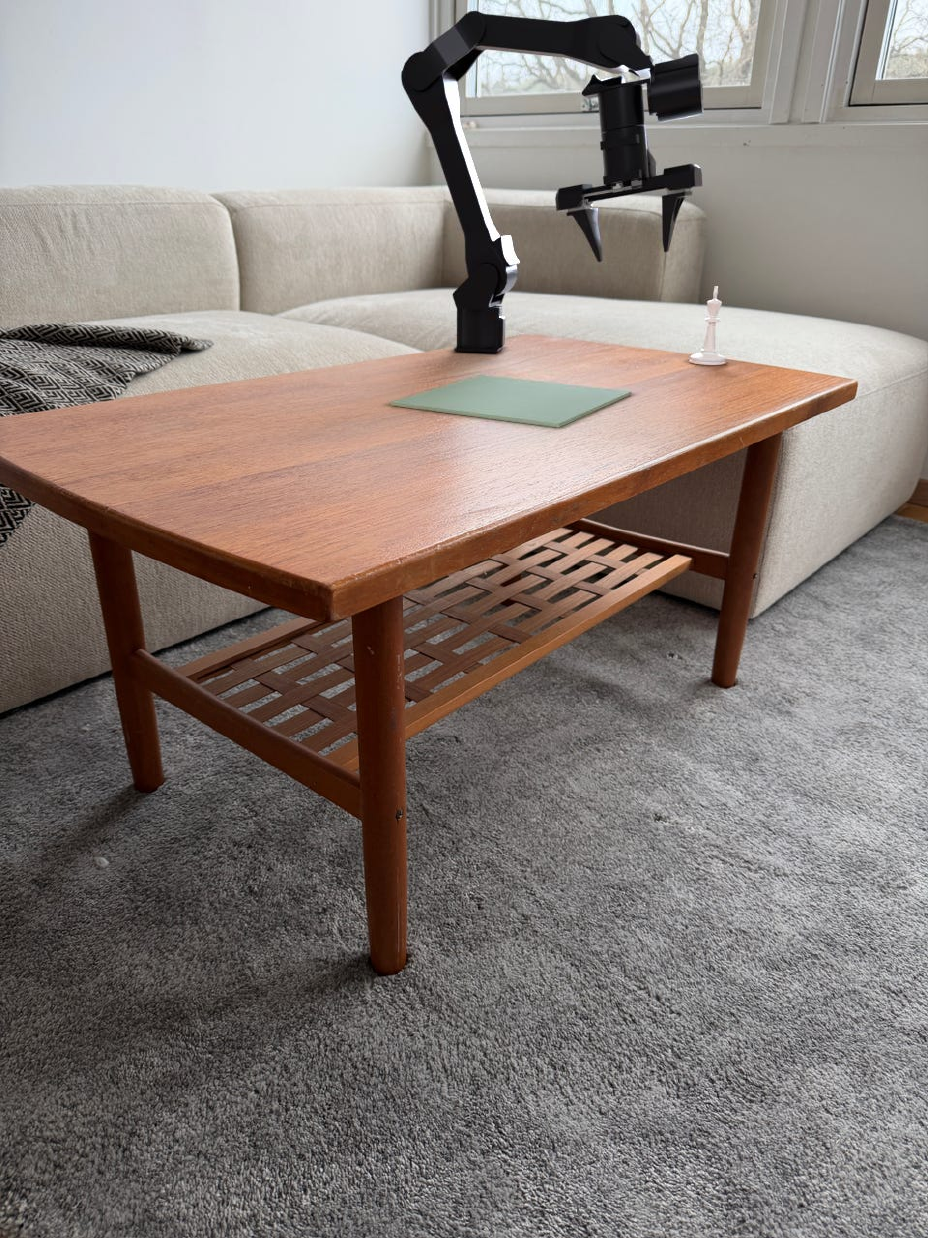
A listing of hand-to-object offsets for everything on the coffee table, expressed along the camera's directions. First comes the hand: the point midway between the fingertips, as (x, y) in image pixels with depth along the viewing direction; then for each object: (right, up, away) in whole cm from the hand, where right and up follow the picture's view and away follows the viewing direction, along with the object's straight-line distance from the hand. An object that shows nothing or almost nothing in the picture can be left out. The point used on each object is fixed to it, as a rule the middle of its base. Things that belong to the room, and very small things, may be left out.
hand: (632, 256), depth 125 cm
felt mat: (-17, -25, -23) cm, 38 cm away
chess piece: (+11, -14, +2) cm, 18 cm away
